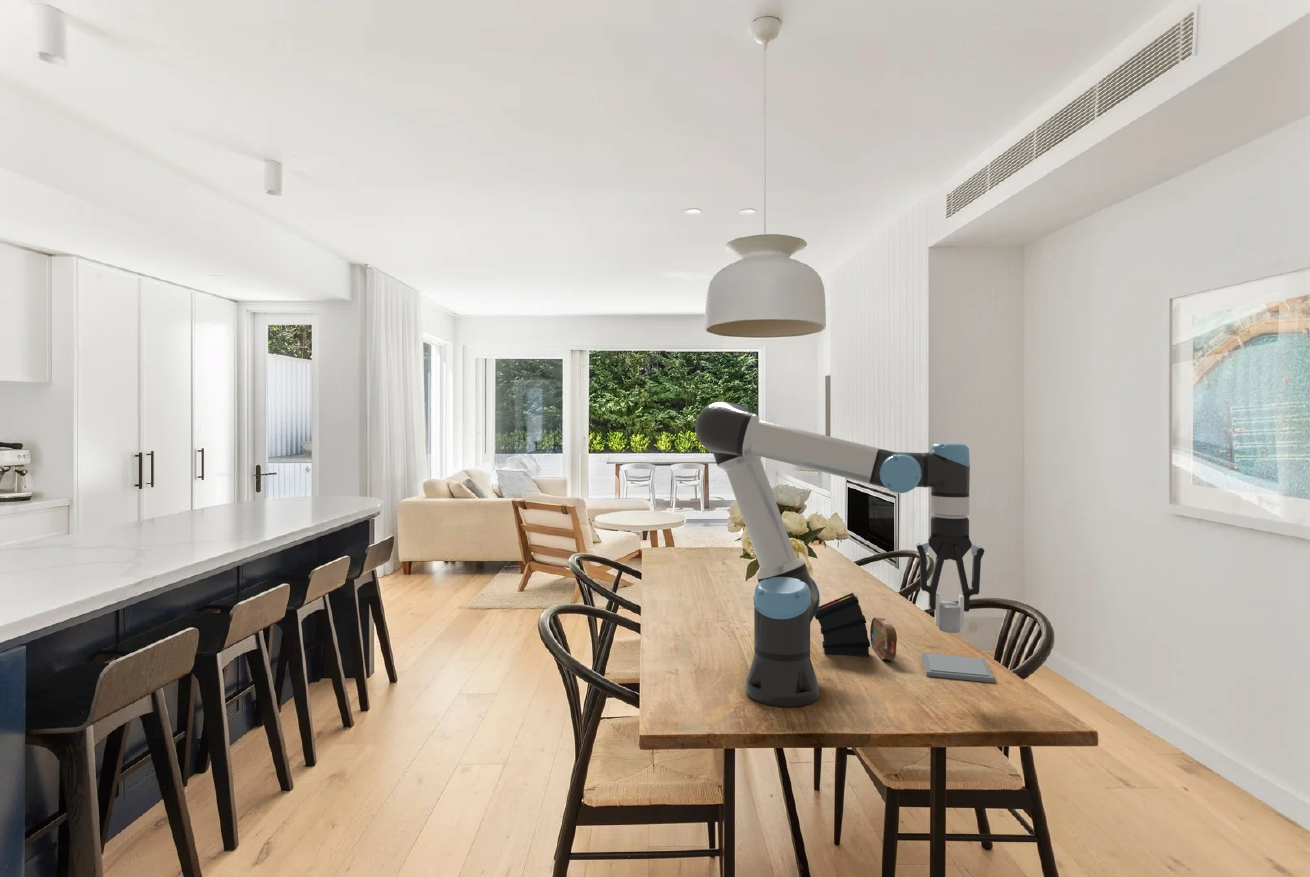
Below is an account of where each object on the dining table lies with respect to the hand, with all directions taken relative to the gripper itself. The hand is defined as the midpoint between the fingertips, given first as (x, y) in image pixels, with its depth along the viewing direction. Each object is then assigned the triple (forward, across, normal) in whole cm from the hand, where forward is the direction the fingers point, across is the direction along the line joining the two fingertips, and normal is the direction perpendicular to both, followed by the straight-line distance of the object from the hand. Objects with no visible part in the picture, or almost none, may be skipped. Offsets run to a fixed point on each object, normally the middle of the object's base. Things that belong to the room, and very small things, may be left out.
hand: (949, 625), depth 146 cm
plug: (+1, 0, -1) cm, 1 cm away
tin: (+14, +13, -21) cm, 29 cm away
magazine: (+14, +23, -19) cm, 33 cm away
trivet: (+14, -3, -15) cm, 21 cm away
